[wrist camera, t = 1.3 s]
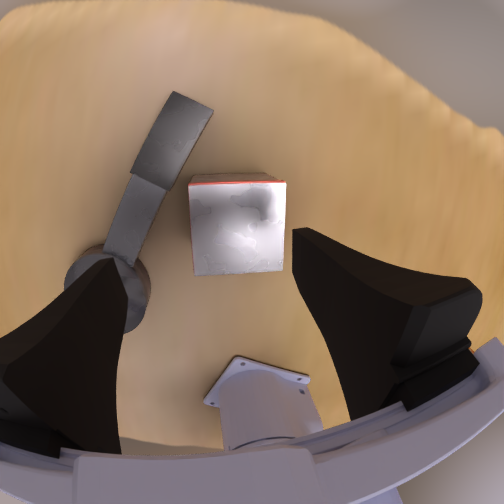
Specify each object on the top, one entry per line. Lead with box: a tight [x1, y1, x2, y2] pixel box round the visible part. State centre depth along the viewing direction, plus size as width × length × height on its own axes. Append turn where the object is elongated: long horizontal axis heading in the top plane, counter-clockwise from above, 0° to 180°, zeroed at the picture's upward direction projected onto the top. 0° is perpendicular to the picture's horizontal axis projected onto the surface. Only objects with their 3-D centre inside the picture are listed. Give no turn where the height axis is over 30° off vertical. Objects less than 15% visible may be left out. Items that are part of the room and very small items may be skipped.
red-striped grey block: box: [188, 173, 286, 276], centre depth 18 cm, size 5×5×6 cm
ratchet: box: [64, 91, 214, 334], centre depth 17 cm, size 7×19×5 cm, turn 150°
